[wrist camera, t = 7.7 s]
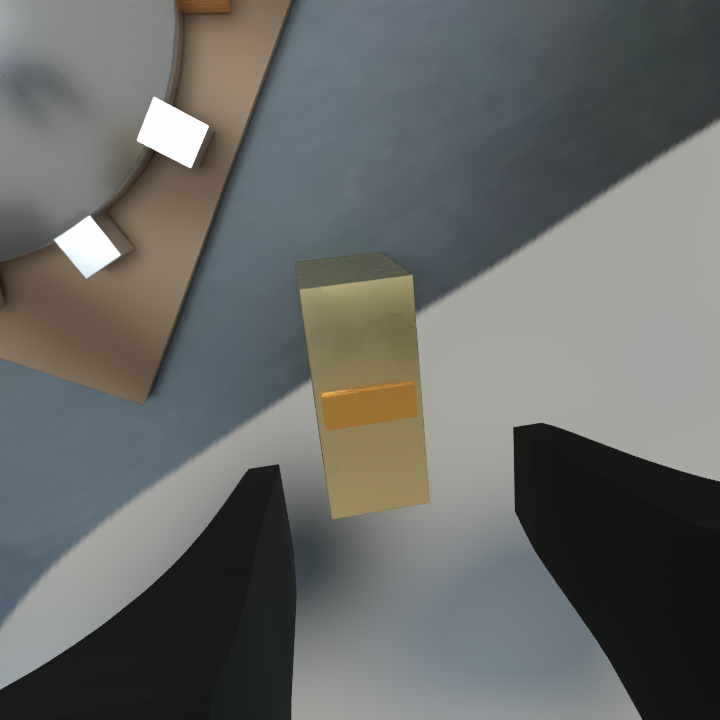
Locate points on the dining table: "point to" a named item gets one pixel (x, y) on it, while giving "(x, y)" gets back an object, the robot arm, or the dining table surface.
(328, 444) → the yellow block
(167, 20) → the sprocket
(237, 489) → the robot arm
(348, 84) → the dining table surface
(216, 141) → the sprocket base
